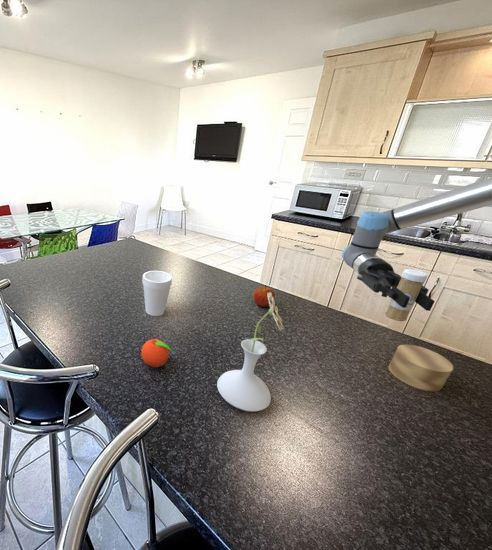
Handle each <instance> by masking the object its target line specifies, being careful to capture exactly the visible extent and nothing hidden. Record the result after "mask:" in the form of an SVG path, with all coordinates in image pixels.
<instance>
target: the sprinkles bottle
mask: <svg viewBox="0 0 492 550" xmlns="http://www.w3.org/2000/svg"><path fill="white" fill-rule="evenodd" d="M428 277H429V274H428V273H427V272H424V271H421V270H418V269H413V268H406V269H404V270H403V271H402V273H401V280H400V282H399V284H398V286H397V288H398V289H399V290H400V291H401V292H403V293H404V294H405V295H407V296H408V297H409V298H410V300H409V302H408V304H407V306H406V308H403V307H401V306H400V305H399V304H398V303H396V302H395V301H394V300H393V299H392V298H390V299H391V300H390V302H389V305H388V307H387V310H386V311H385V312H384V315H385V316H386V317H387V318H389V319H391V320H394V321H396V322H405V321H407V319H408V317H409V314H410V312H411V311H412V308H413V307H414V305H415V303H416V302H415V300H416V298H417V296H418V294H419V291H420V289H421V287H422V285H423V286H424V284H425V282H426V281H427V280H428Z"/></svg>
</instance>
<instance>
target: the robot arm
mask: <svg viewBox="0 0 492 550" xmlns="http://www.w3.org/2000/svg"><path fill="white" fill-rule="evenodd" d="M489 206H492V176H491V177H488V178H485V179H482V180H479V181H476V182H473V183H470V184H467V185H463V186H460V187H457V188H454V189H450V190H448V191H445V192H441V193H439V194H435V195H433V196H429V197H426V198H423V199H419V200H417V201H414V202H410V203H408V204H407V203H406V204H404V205H401V206H397V207H394V208H392V209H389V210H385V211H383V212H379V211H372V210H371V211H364V212H363V211H362V213H361V214H360V216H359V219H358V220H357V221H356V223H357V224H356V226H355V230H354V233H353V236H352V239H351V242H350V243H349V245H347V246H346V247H345V248H344V249H343V250H342V252H341V259H342V260H343V262H344V263H345V264H346V265H347V266H348V267H350V268H351V269H352V270H353V271H354V272H355V273H357V276H356V280H358V281H361V282H362V283H363V284H364V285H365V286H367V287H368V288H369V289H370V290H371V291H372V292H373V293H377V294H379V293H381V295H380V297H383V298H390V299H393V300H394V301H395V302H396V303H398V304H399V305H400V306H401V307H403V308H406V306H407V304H408V302H409V300H410V298H409V297H408V296H407V295H405V294H404V293H403V292H401V291H400V290H399V289H398V288H397V286H398V284H399V282H400V280H401V277H402V275H400V274H399V273H397V272H395V270H394V268H393V266H392V265H391V263H389V262H387V261H386V260H384V258H382V257H380V256H379V255H377V252H378V250H379V247H380V244H381V242H382V239H383V237H384V236H385V235H386V234H390V233H393V232H397V231H401V230H405V229H407V228H411V227H415V226H419V225H423V224H426V223H430V222H433V221H438V220H441V219H444V218H449V217H452V216H456V215H459V214H463V213H467V212H471V211H474V210H478V209H481V208H485V207H489ZM429 291H430V290H429V288H427V287H426V286H424V284H423V285H422V287H421V289H420V291H419V294H418V296H417V298H416V300H415V303H416V304H417V305H419V306H420V307H421V308H422V309H424V311H427V312H429V311H432V308H433V306H434V304H435V300H434V299H432V298H431V297H430V296H428V293H429Z"/></svg>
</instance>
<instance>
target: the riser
mask: <svg viewBox="0 0 492 550" xmlns="http://www.w3.org/2000/svg"><path fill="white" fill-rule="evenodd" d="M388 370H389V372H390V373H391V374H392V376H394V377H395V378H396V379H398V380H399V381H401V382H402V383H403V384H406V385H408V386H410V387H412V388H414V389H418V390H421V391H425V392H439V391H441V390H442V389H443V388H444V385H445V384H446V382H447V380H448V379H449V377H450V375H451V374H452V372H453V371H454V365H453V363H452V362H451V361H450V360H449V359H447V358H446V357H444V356H443V355H442V354H439V353H437V352H436V351H434V350H432V349H428V348H425V347H422V346H419V345H414V344H400V345H398V346H397V348H396V350H395V352H394V353H393V356H392V358H391V360H390V362H389V364H388Z"/></svg>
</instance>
